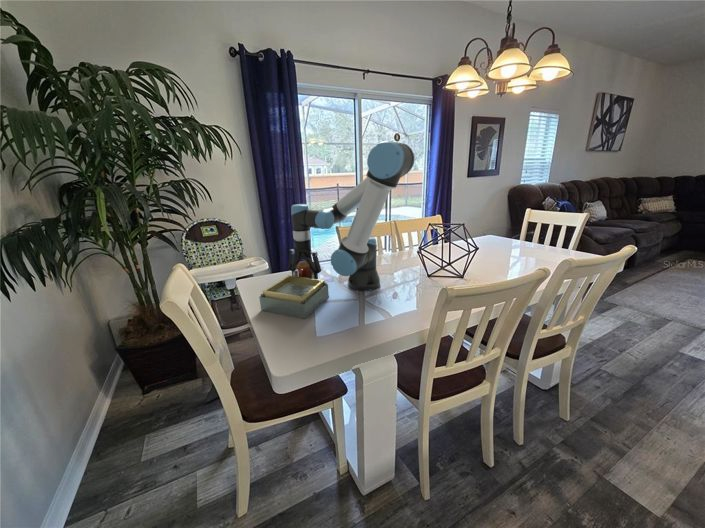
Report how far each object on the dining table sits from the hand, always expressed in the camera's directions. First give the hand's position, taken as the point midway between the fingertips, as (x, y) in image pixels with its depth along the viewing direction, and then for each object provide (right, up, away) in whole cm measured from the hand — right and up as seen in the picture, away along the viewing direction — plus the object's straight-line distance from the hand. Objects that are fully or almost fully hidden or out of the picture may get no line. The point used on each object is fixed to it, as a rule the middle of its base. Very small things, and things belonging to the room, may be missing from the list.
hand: (305, 284), depth 137 cm
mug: (0, 0, 0) cm, 0 cm away
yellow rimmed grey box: (-2, -7, -17) cm, 19 cm away
